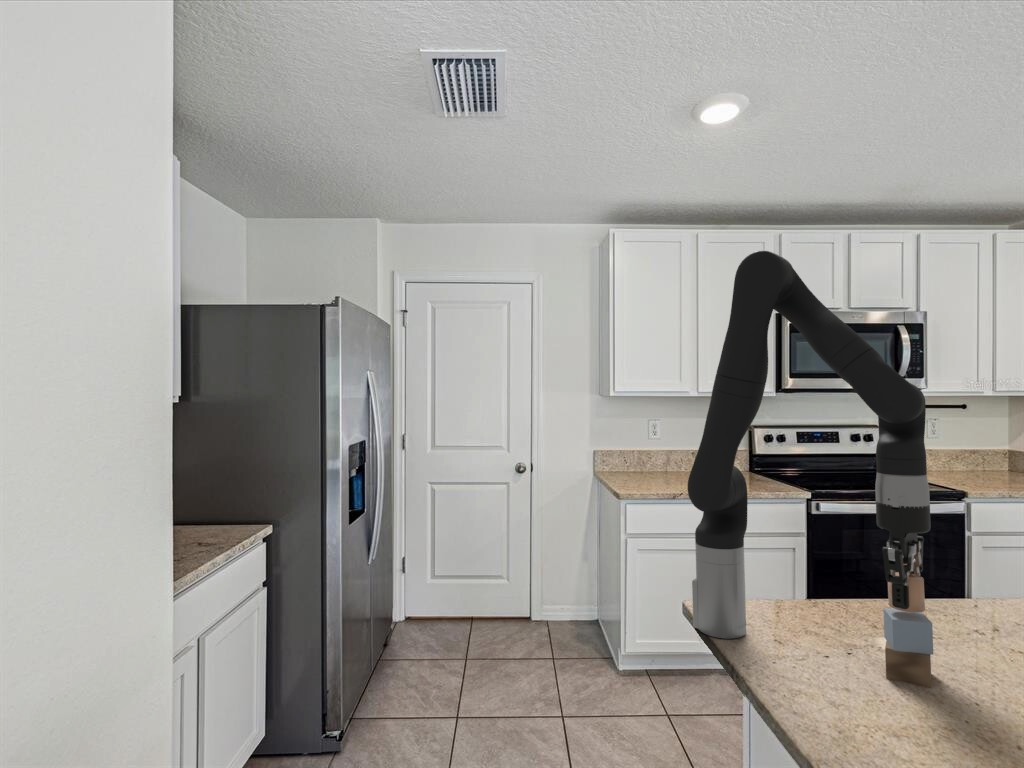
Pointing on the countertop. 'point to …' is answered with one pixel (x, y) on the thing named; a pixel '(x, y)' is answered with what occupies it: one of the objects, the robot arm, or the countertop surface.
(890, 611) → the tower top
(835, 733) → the countertop surface
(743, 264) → the robot arm
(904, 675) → the tower base
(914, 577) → the tan rounded cylinder
